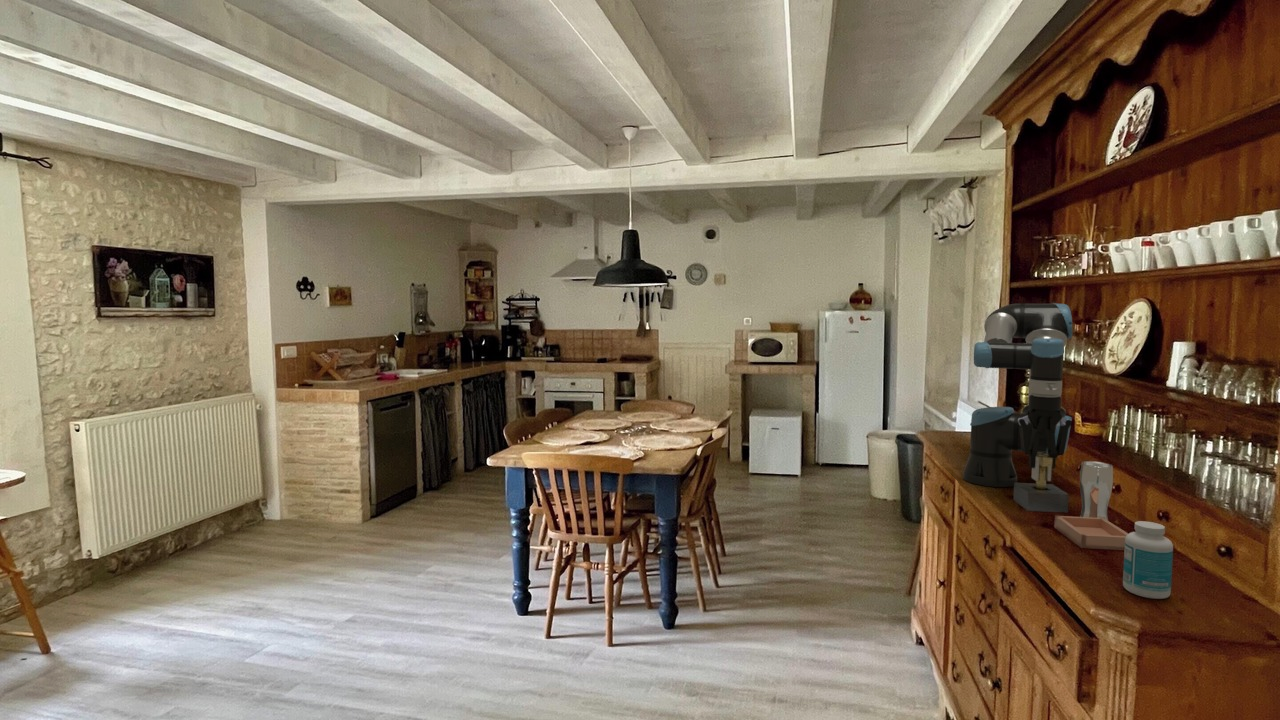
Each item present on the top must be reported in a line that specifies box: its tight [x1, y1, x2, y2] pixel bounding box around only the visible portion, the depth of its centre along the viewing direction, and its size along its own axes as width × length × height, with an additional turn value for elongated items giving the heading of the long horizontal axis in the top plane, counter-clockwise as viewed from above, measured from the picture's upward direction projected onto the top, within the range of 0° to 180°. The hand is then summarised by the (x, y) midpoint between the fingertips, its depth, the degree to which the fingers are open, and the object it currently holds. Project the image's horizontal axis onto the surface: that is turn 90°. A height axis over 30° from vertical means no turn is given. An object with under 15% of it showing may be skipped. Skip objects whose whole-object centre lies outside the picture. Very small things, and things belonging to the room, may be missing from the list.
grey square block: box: [1012, 482, 1070, 514], centre depth 182 cm, size 10×10×5 cm
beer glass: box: [1079, 460, 1114, 521], centre depth 168 cm, size 7×7×15 cm
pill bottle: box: [1122, 520, 1174, 600], centre depth 128 cm, size 8×7×14 cm
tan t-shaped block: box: [1035, 452, 1053, 490], centre depth 181 cm, size 7×2×14 cm, turn 170°
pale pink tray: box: [1054, 515, 1129, 551], centre depth 157 cm, size 14×11×3 cm
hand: (1041, 479), depth 181 cm, fingers closed on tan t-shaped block, 2 cm apart
